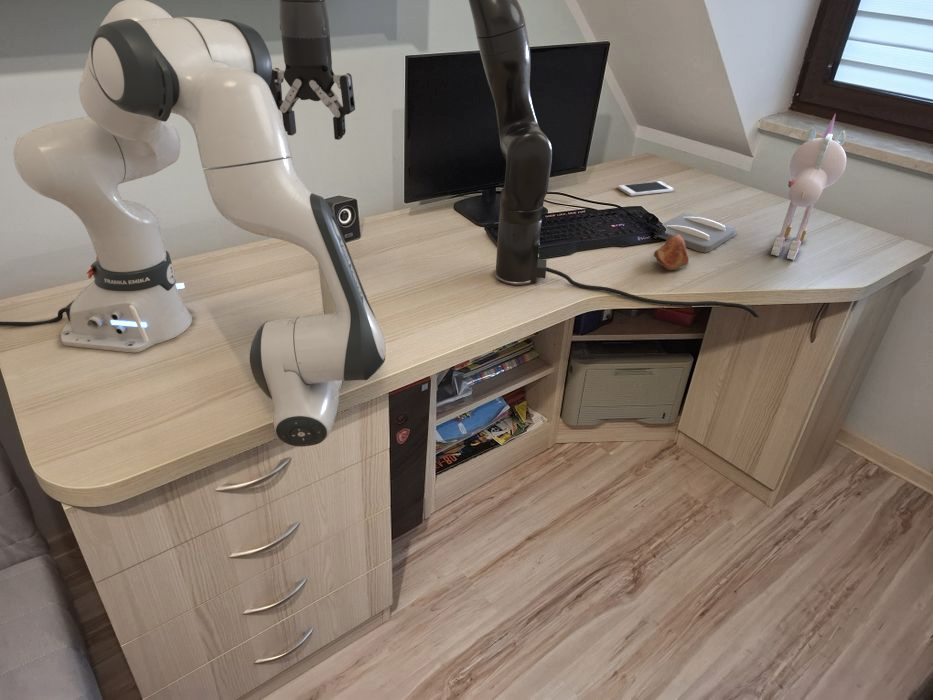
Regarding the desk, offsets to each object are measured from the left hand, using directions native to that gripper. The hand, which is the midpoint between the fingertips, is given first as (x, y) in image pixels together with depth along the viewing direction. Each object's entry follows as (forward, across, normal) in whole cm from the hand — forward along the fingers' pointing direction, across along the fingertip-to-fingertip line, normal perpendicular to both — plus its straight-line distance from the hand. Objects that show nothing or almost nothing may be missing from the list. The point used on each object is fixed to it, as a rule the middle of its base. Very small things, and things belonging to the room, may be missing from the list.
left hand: (326, 323), depth 113 cm
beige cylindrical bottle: (+10, 0, +6) cm, 12 cm away
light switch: (+54, -89, +6) cm, 104 cm away
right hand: (+15, +1, -28) cm, 32 cm away
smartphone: (+88, -86, +6) cm, 123 cm away
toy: (+52, -114, +6) cm, 126 cm away
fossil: (+36, -76, +6) cm, 84 cm away
